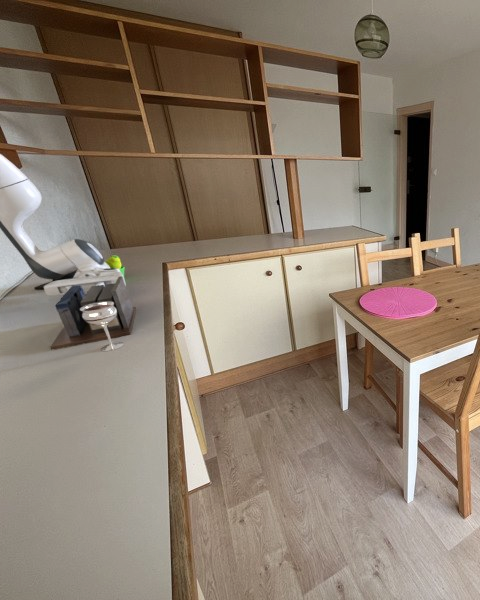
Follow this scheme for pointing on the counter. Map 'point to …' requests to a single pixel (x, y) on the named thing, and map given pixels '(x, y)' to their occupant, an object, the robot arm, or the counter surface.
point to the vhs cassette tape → (72, 311)
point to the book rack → (115, 328)
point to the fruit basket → (115, 263)
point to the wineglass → (101, 319)
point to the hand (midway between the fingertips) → (83, 290)
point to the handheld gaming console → (68, 276)
